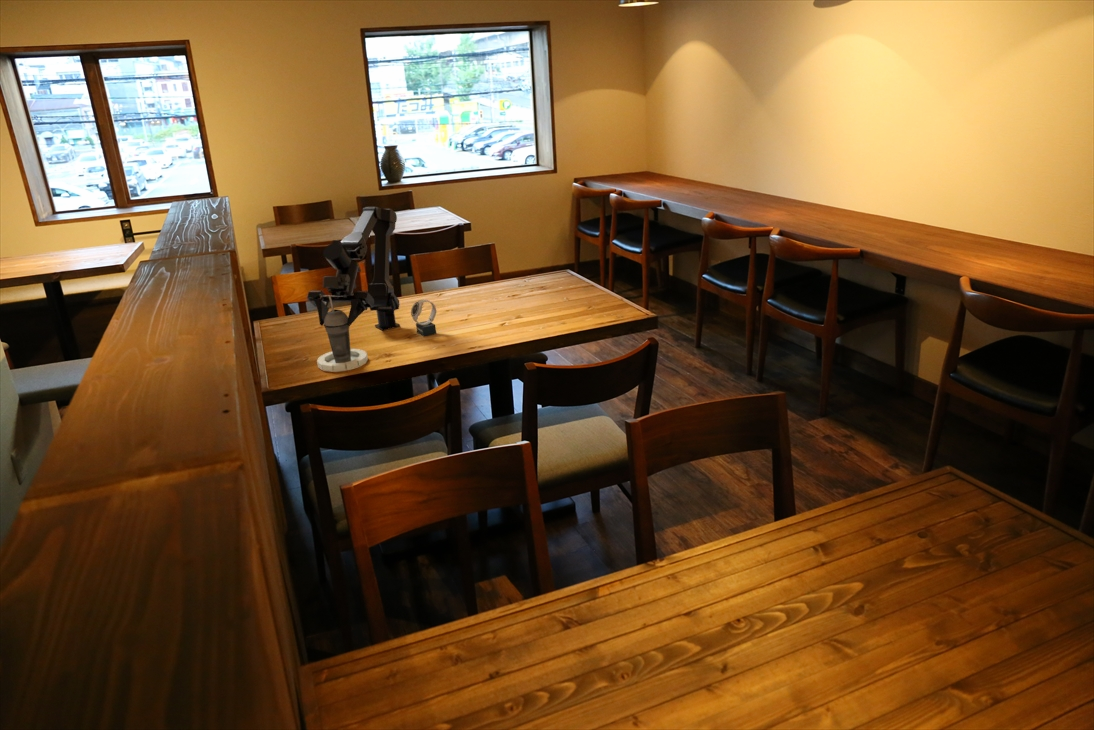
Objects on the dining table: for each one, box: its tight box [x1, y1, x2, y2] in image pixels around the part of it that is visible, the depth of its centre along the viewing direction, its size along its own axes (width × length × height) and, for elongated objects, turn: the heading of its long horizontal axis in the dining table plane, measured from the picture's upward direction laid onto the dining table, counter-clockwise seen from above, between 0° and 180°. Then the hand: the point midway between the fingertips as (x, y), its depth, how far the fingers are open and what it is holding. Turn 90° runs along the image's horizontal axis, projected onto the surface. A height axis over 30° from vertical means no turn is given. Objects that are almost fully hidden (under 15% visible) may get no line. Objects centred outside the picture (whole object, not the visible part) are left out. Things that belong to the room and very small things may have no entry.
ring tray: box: [316, 348, 369, 373], centre depth 217 cm, size 14×14×2 cm
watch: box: [410, 299, 437, 338], centre depth 237 cm, size 6×8×11 cm
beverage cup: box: [323, 294, 351, 363], centre depth 214 cm, size 7×7×20 cm
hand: (334, 325), depth 212 cm, fingers open, 8 cm apart
